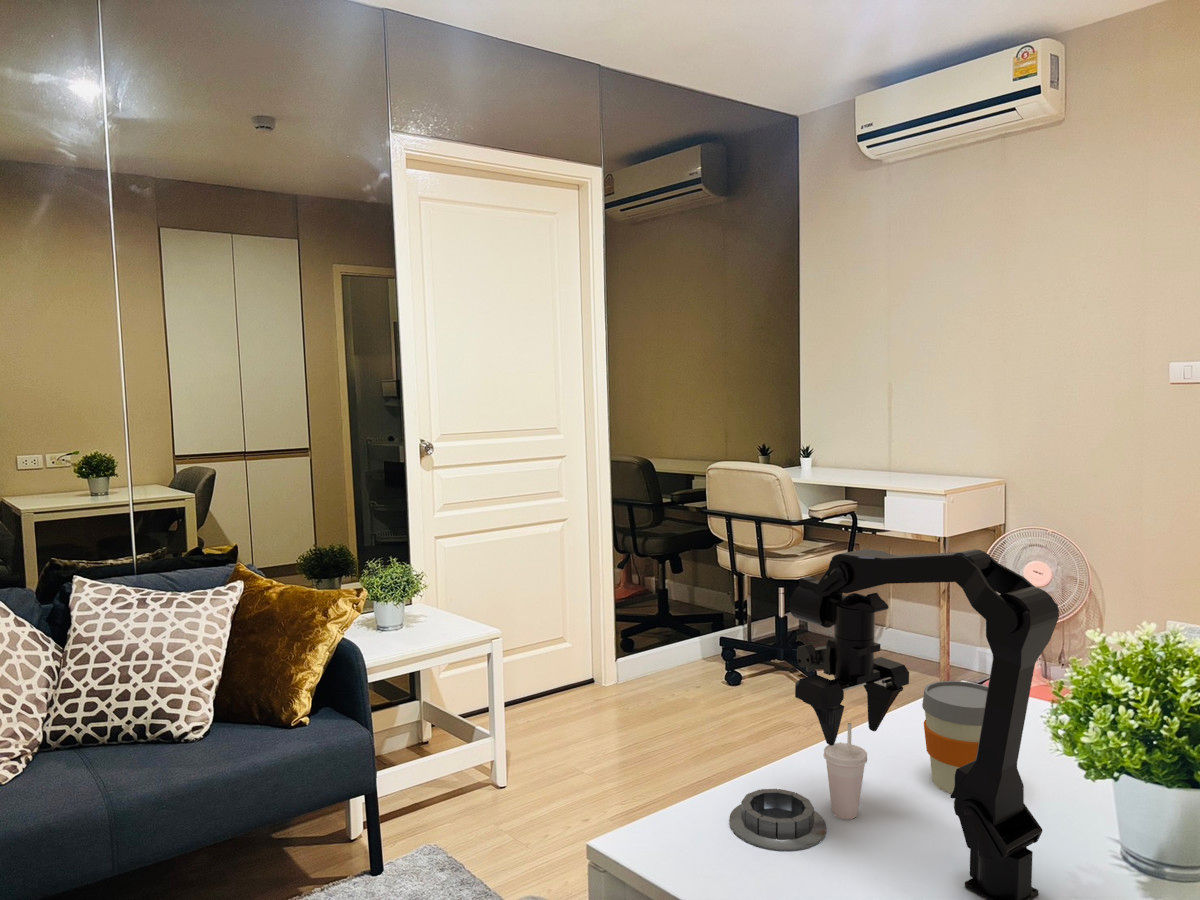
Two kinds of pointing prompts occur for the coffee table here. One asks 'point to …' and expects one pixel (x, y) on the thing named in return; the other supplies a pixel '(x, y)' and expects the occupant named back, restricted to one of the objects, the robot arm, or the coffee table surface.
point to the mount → (777, 820)
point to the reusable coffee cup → (952, 727)
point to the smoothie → (845, 776)
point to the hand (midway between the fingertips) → (851, 737)
